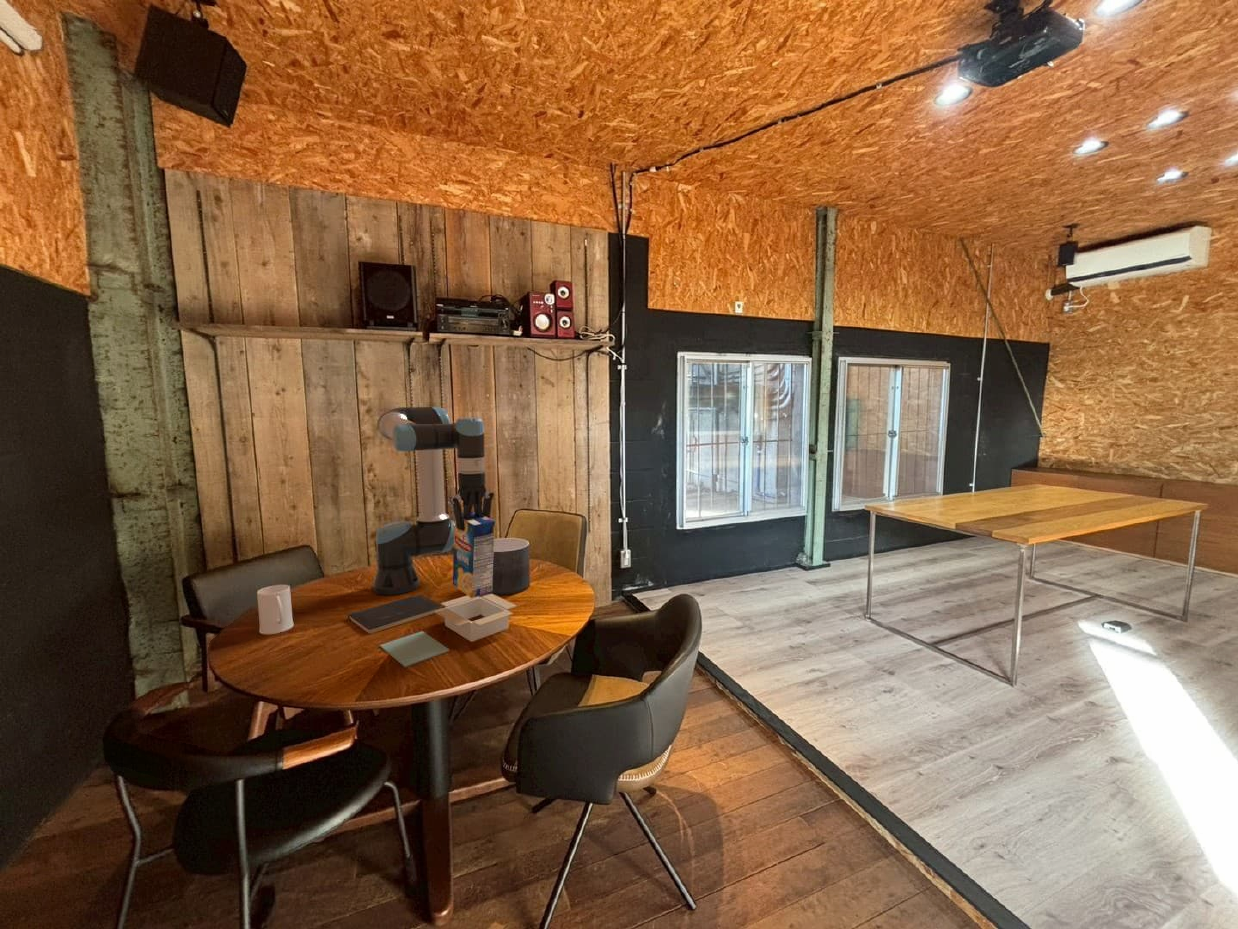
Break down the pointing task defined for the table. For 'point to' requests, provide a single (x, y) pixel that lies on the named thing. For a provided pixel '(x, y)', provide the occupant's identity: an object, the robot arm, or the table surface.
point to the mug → (274, 609)
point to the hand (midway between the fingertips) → (474, 551)
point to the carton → (472, 607)
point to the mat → (414, 648)
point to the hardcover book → (394, 613)
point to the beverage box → (474, 556)
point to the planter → (510, 566)
